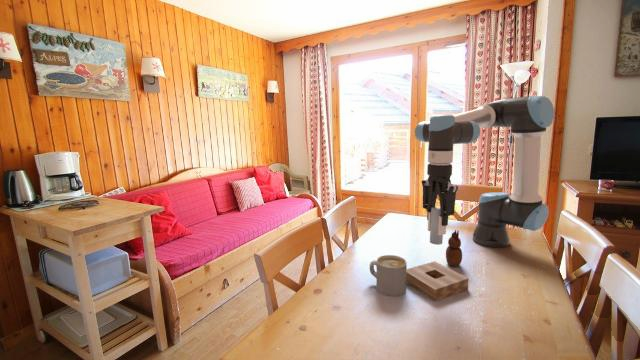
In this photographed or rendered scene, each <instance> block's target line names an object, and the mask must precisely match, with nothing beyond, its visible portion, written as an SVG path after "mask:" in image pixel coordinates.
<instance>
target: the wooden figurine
mask: <svg viewBox="0 0 640 360" xmlns="http://www.w3.org/2000/svg"><path fill="white" fill-rule="evenodd" d="M459 231H460V230H459V229H458V230H457V229H455V230H454V231H452V233H451V236H450V237H449V238H448V240H447V242H448V246H447V247H446V249H445V260H446V263H447V265H448V266H450V267H454V268H456V267H459V266H460V265H461V263H462V260H463V251H462V249H461V246H462V241H461V238H459V234H460V233H459Z"/></svg>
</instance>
